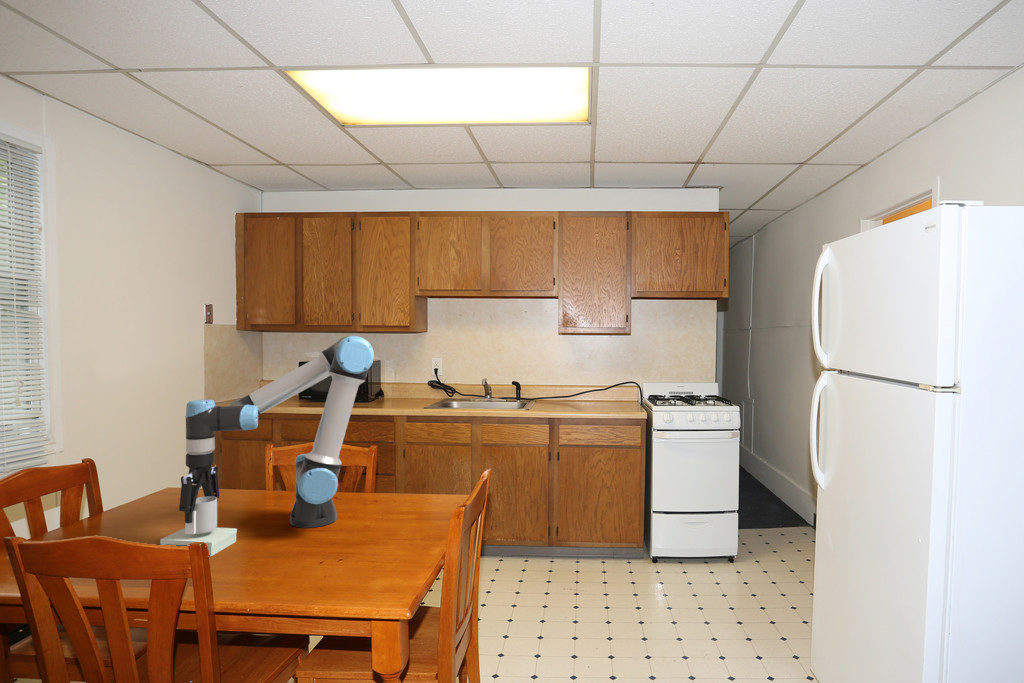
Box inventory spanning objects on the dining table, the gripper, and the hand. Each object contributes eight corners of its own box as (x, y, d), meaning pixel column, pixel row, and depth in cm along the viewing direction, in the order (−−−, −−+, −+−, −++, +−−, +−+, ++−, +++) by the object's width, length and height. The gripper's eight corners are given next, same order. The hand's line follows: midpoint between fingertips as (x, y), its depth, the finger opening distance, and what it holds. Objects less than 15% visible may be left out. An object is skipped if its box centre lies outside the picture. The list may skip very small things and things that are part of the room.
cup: (194, 535, 164) (194, 505, 164) (182, 527, 170) (182, 498, 170) (221, 529, 169) (221, 499, 169) (208, 521, 176) (208, 493, 176)
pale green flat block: (236, 541, 174) (236, 528, 174) (211, 556, 162) (211, 542, 162) (188, 538, 176) (188, 526, 176) (160, 553, 164) (160, 539, 164)
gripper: (210, 445, 179) (210, 517, 180) (163, 458, 159) (163, 540, 159) (232, 445, 178) (232, 518, 179) (188, 459, 158) (188, 541, 158)
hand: (199, 528), depth 169 cm, fingers closed on cup, 7 cm apart
